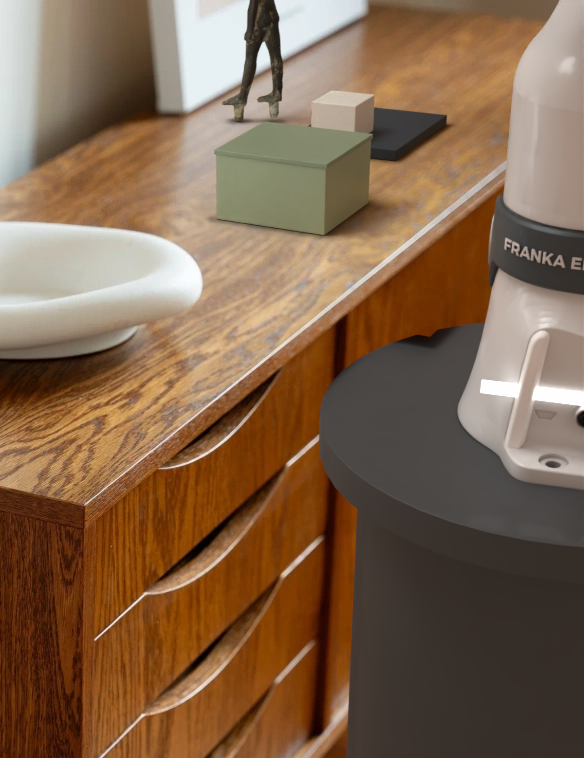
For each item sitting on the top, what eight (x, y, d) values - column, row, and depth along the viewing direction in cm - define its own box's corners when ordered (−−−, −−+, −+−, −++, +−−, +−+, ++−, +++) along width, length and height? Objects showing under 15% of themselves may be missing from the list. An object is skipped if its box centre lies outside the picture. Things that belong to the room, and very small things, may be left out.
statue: (231, 111, 156) (231, -92, 146) (290, 115, 154) (293, -92, 144) (216, 124, 152) (215, -85, 142) (276, 128, 150) (278, -84, 140)
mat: (446, 124, 148) (447, 114, 147) (395, 161, 138) (396, 150, 138) (343, 113, 153) (343, 103, 153) (287, 147, 144) (287, 137, 143)
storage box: (370, 202, 129) (373, 133, 126) (325, 236, 122) (327, 164, 119) (263, 188, 134) (264, 121, 131) (214, 219, 127) (213, 149, 124)
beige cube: (373, 130, 144) (375, 94, 142) (354, 143, 141) (355, 106, 139) (330, 125, 146) (331, 90, 144) (310, 138, 143) (311, 101, 141)
